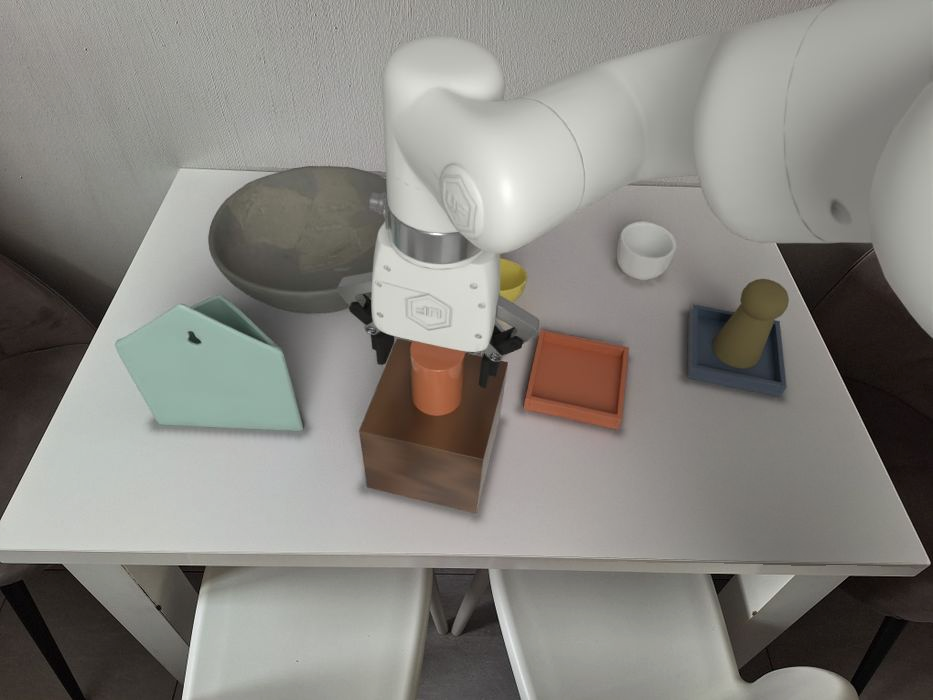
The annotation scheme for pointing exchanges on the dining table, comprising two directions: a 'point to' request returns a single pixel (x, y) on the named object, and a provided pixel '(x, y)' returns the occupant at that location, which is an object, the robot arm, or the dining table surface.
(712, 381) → the slate tray
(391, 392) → the block
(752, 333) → the pepper shaker
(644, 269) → the teacup
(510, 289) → the ladle
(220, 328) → the planter
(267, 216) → the bowl
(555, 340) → the terracotta tray
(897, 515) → the dining table surface
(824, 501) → the dining table surface
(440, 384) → the terracotta jar
